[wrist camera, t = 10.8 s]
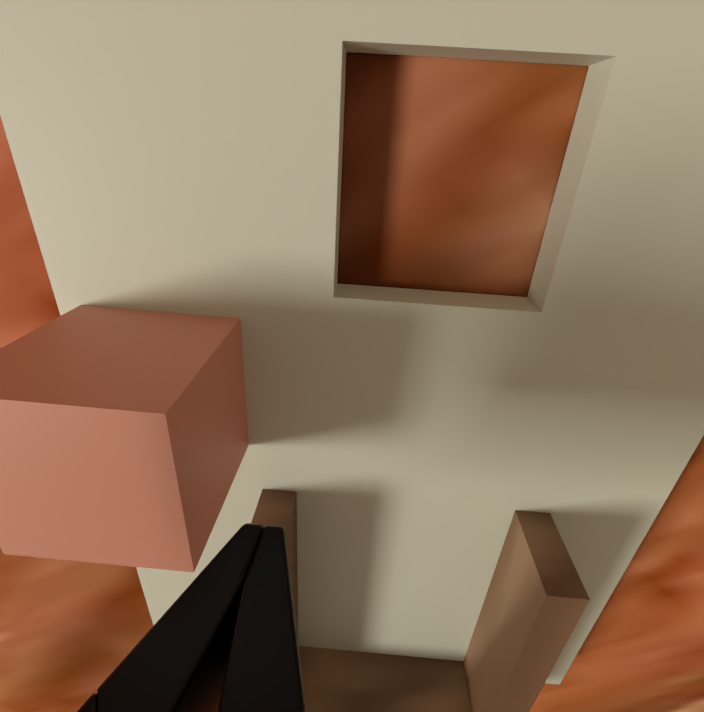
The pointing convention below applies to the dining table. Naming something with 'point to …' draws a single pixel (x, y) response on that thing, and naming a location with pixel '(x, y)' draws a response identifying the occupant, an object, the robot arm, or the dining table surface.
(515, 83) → the dining table surface
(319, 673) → the cubby
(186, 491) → the block
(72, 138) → the board
